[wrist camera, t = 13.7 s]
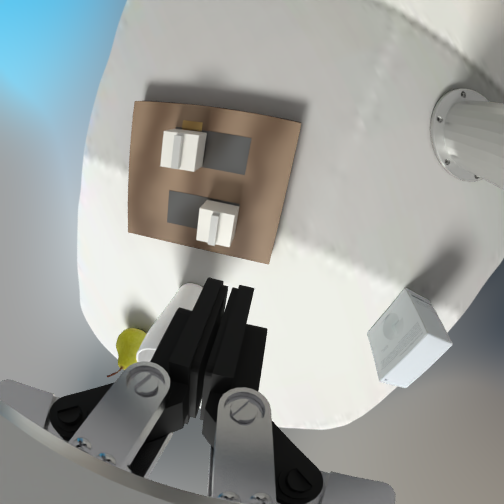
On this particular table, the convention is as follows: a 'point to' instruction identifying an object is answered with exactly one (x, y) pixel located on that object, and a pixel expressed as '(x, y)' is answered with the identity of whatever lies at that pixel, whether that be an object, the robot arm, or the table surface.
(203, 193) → the switch board
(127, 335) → the fruit
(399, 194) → the table surface
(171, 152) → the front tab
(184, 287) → the drinking glass
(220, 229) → the tab
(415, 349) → the skincare box
